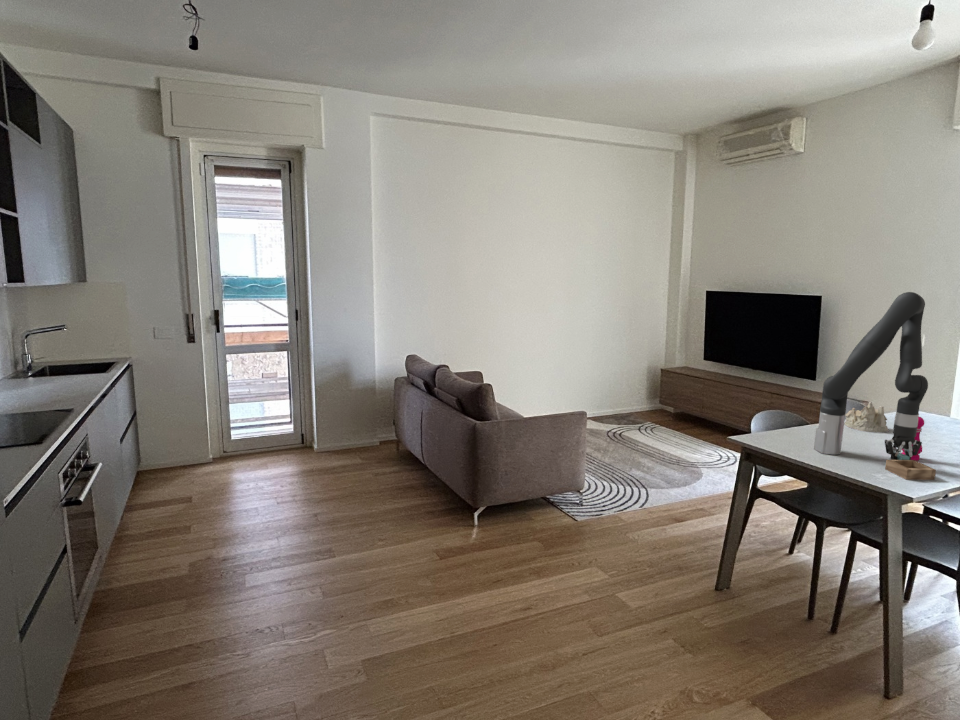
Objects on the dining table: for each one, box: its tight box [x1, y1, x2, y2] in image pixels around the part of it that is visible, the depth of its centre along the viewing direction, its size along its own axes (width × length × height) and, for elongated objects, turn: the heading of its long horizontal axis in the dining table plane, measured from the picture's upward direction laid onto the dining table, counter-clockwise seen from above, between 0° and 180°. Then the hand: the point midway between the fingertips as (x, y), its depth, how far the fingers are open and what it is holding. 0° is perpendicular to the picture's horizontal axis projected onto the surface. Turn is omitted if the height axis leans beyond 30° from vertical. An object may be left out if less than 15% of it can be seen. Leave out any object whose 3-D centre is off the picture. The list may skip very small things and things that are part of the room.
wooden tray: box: [885, 459, 937, 481], centre depth 220 cm, size 11×11×4 cm
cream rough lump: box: [844, 401, 889, 433], centre depth 284 cm, size 16×16×15 cm
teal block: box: [897, 452, 910, 460], centre depth 229 cm, size 5×3×5 cm, turn 1°
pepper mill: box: [901, 413, 925, 462], centre depth 238 cm, size 7×7×20 cm
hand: (899, 464), depth 229 cm, fingers open, 4 cm apart
